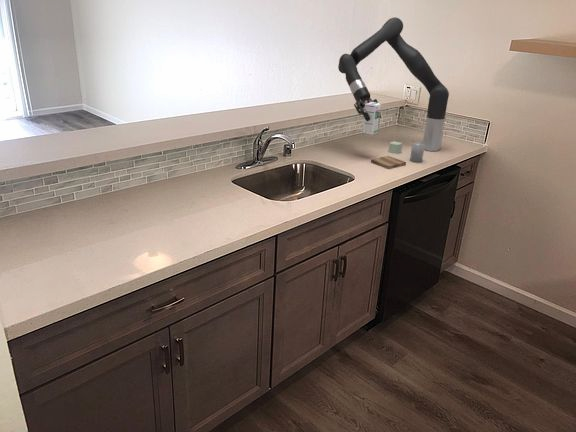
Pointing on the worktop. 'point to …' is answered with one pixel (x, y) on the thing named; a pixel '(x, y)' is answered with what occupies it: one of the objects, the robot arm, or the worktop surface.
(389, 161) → the walnut board
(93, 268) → the worktop surface
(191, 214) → the worktop surface
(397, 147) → the sage block
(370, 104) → the syrup box
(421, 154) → the grey rounded cylinder
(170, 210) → the worktop surface
